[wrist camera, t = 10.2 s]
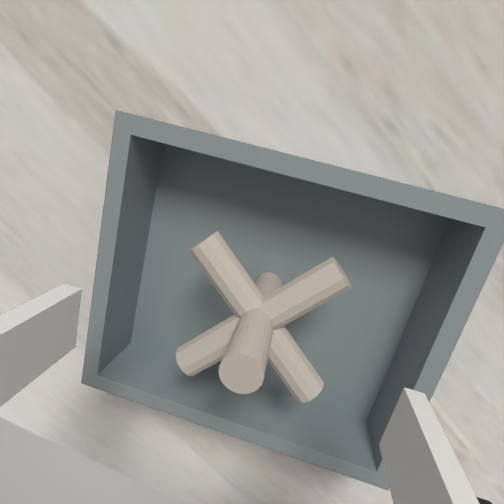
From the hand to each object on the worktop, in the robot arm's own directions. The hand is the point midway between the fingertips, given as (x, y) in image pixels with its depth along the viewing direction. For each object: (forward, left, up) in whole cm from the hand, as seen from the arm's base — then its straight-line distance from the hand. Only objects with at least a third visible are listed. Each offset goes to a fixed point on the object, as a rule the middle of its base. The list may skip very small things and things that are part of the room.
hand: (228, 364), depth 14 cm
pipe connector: (0, 0, -10) cm, 10 cm away
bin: (0, 0, -11) cm, 11 cm away
